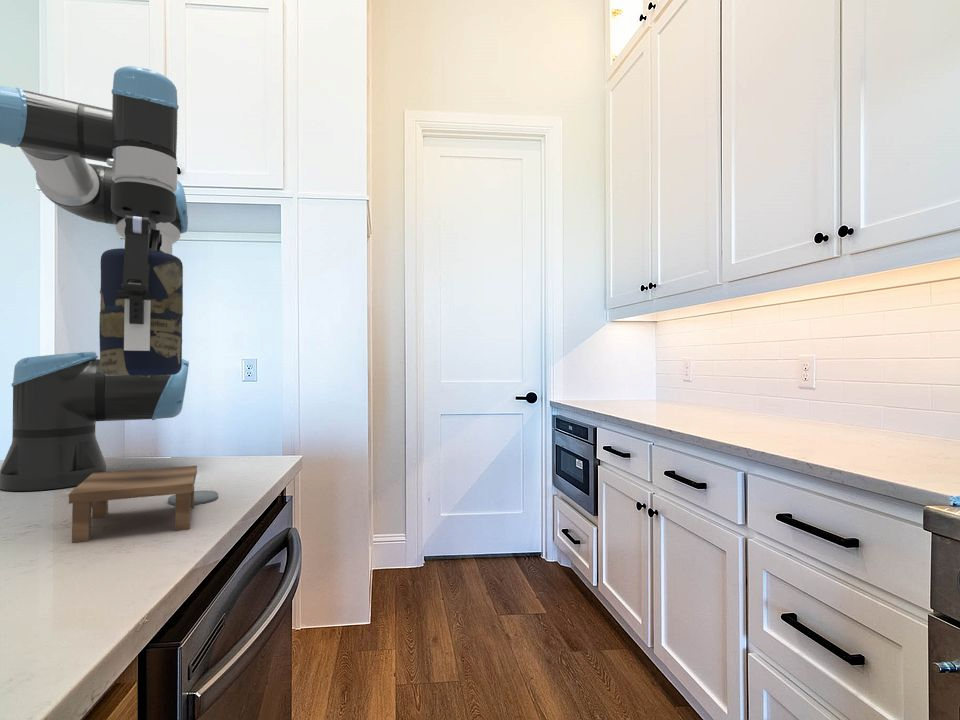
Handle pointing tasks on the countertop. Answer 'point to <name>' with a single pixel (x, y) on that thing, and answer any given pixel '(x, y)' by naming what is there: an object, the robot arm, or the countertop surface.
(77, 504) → the step stool
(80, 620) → the countertop surface
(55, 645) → the countertop surface
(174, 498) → the slate coaster
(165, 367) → the canister
